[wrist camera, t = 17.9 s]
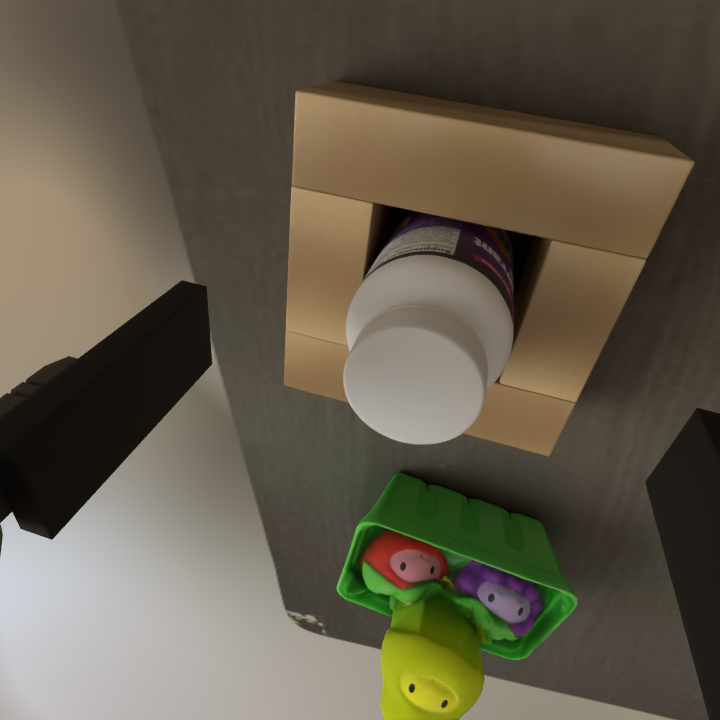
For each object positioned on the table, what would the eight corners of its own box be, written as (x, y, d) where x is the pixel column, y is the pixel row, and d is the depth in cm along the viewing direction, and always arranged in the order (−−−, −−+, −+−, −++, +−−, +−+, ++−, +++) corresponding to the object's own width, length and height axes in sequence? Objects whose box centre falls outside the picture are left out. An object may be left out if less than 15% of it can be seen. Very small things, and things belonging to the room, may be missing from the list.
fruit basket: (575, 515, 27) (605, 753, 18) (514, 594, 33) (513, 810, 24) (382, 447, 28) (319, 642, 19) (352, 535, 34) (292, 721, 25)
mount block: (332, 80, 19) (294, 90, 15) (662, 136, 17) (696, 161, 14) (312, 341, 26) (283, 385, 22) (545, 400, 24) (549, 457, 21)
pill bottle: (524, 302, 22) (529, 458, 14) (407, 323, 24) (354, 469, 16) (500, 179, 19) (489, 283, 11) (372, 215, 21) (288, 323, 13)
